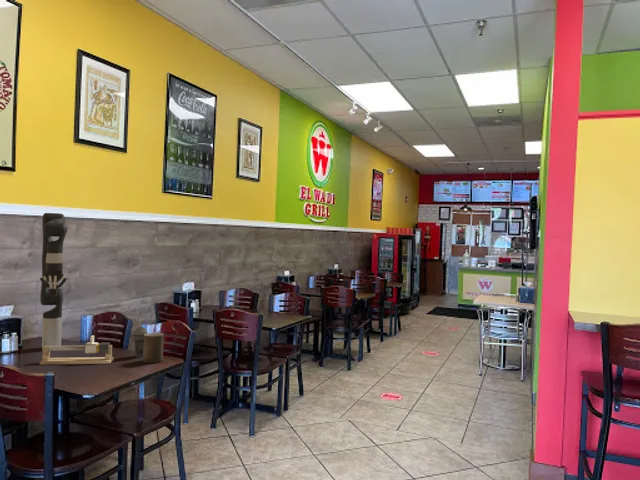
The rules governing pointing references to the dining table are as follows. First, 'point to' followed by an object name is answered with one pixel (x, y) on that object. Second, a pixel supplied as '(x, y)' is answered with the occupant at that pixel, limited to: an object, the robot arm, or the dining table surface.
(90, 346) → the white slider block
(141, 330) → the beverage cup
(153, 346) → the pillar candle
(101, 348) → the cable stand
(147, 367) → the dining table surface
